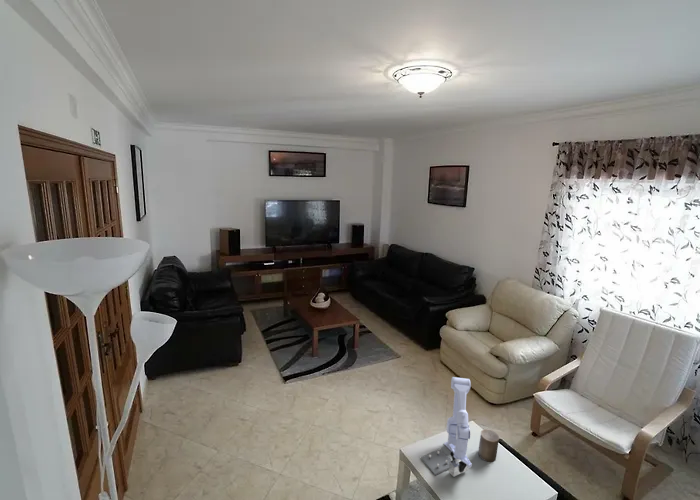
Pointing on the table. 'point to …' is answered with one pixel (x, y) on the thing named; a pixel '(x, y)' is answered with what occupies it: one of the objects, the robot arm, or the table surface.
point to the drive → (455, 467)
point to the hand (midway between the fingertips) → (458, 468)
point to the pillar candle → (488, 445)
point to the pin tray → (437, 461)
